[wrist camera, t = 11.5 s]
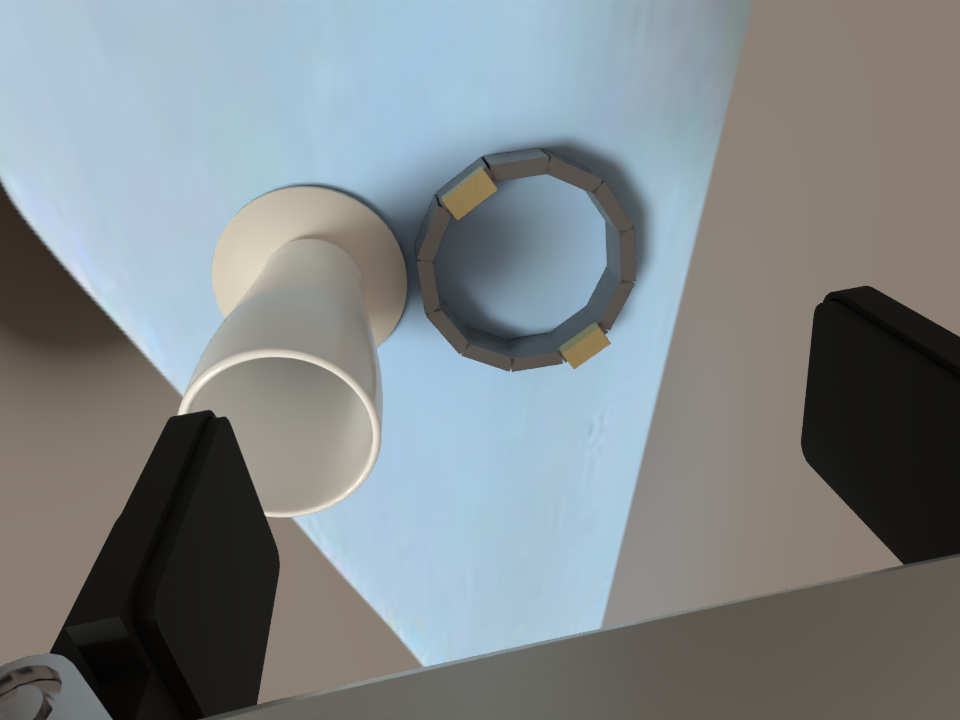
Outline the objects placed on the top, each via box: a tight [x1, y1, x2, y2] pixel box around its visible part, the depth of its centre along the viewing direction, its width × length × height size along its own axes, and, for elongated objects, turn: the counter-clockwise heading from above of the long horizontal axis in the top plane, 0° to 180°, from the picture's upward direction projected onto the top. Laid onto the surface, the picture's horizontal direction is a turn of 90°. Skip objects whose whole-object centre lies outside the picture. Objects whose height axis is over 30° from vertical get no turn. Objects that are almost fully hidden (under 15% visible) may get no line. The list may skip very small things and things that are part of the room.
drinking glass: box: [177, 239, 383, 517], centre depth 29 cm, size 7×7×15 cm
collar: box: [415, 148, 636, 372], centre depth 36 cm, size 12×11×3 cm
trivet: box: [212, 185, 407, 348], centre depth 36 cm, size 10×10×1 cm
